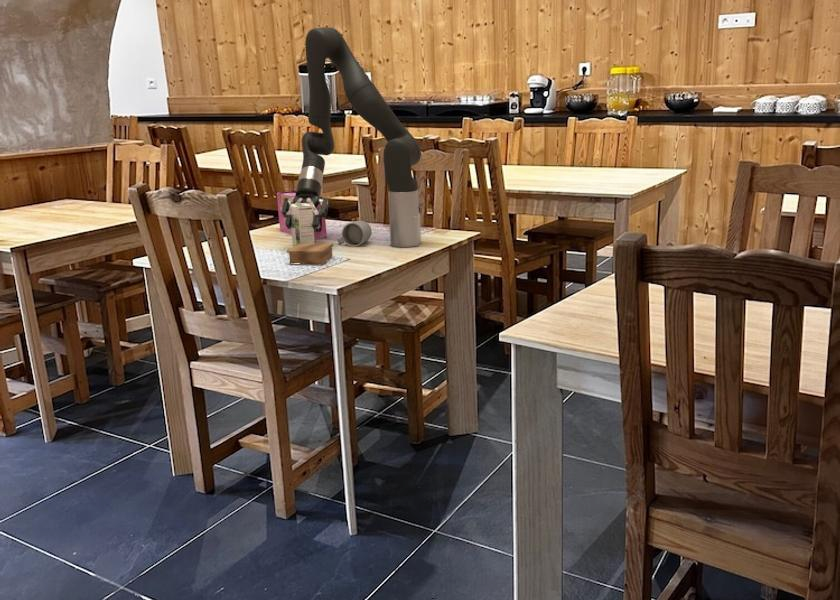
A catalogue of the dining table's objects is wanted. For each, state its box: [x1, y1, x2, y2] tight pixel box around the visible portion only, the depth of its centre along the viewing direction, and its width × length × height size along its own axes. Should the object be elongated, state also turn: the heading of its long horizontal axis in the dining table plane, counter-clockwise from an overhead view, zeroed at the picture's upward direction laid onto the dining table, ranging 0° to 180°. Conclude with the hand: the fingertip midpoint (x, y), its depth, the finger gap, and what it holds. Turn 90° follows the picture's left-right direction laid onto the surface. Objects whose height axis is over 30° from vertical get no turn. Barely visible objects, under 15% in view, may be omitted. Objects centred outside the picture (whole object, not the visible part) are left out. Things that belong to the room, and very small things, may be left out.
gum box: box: [276, 190, 328, 240], centre depth 266 cm, size 24×8×14 cm, turn 33°
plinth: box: [286, 242, 334, 265], centre depth 230 cm, size 11×11×4 cm
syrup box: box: [290, 203, 316, 247], centre depth 241 cm, size 6×6×14 cm
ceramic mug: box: [337, 220, 373, 248], centre depth 250 cm, size 11×8×8 cm
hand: (301, 227), depth 240 cm, fingers closed on syrup box, 7 cm apart
